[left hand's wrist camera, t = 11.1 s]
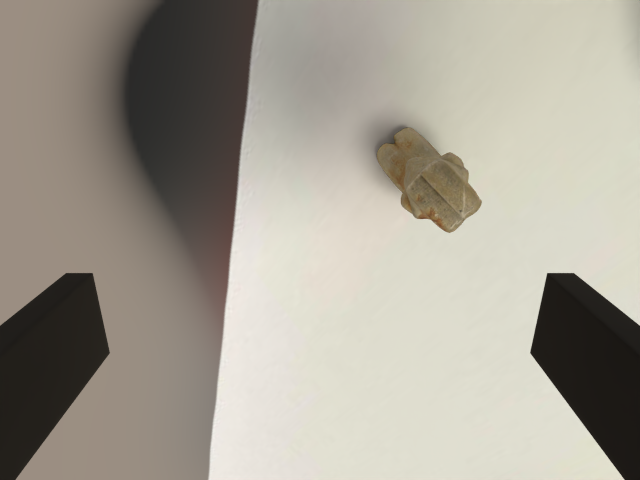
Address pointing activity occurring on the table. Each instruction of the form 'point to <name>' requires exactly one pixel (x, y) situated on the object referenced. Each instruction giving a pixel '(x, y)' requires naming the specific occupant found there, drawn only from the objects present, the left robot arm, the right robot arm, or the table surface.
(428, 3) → the table surface
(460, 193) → the sculpture
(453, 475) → the table surface
